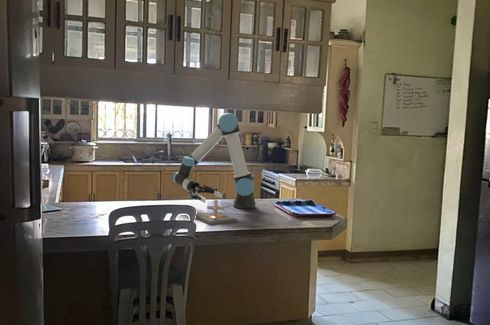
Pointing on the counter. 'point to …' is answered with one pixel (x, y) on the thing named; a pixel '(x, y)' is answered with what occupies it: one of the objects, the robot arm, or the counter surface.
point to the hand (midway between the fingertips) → (213, 198)
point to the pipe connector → (215, 207)
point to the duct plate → (215, 218)
